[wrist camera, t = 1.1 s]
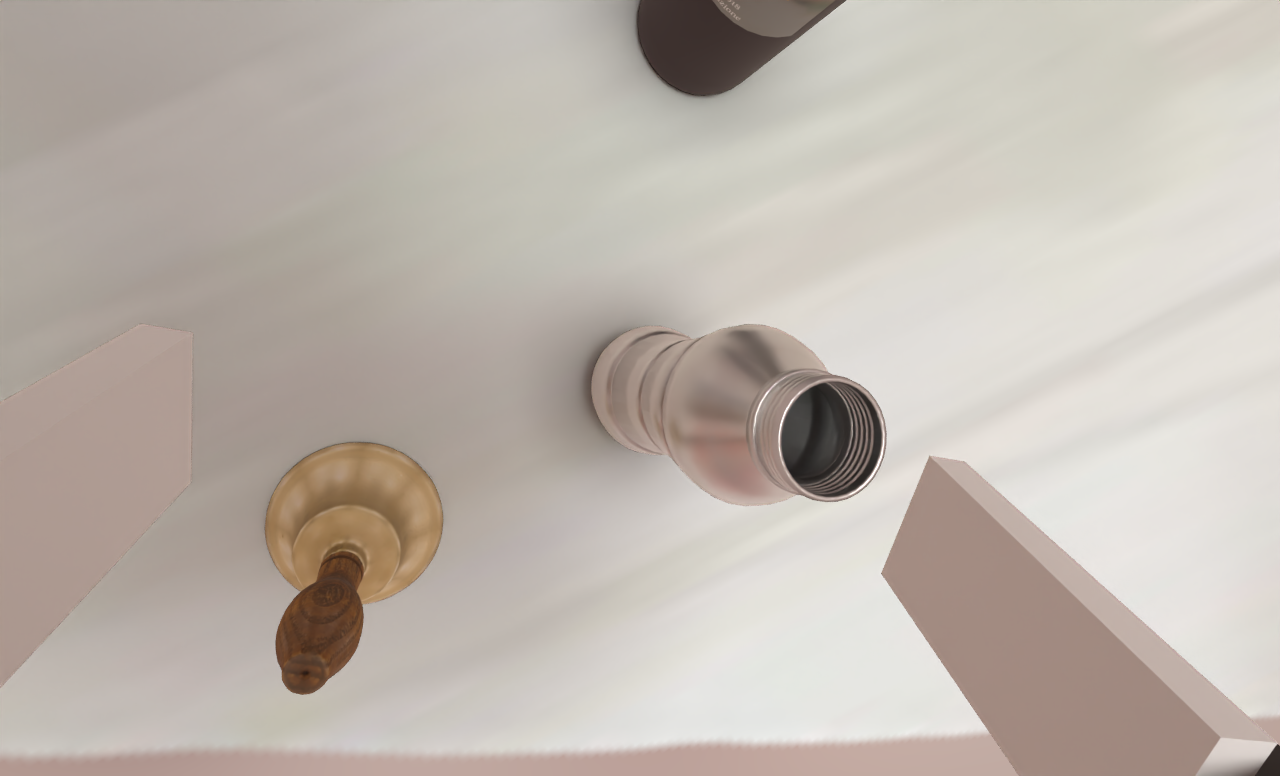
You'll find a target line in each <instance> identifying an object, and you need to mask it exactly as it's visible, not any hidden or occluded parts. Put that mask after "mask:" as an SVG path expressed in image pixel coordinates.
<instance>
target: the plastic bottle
mask: <svg viewBox="0 0 1280 776" xmlns="http://www.w3.org/2000/svg"><path fill="white" fill-rule="evenodd" d="M591 395H592V400H593V405H594V407H595V410H596V412H597V415H598V417H599V420H600V422H601V423H602V425H603V426H604V428H605V429H606V431H607V432H608V433H609V434H610V435H611V436H612V437H613V438H614V439H615V440H616V441H617V442H619V443H620V444H622V445H623V446H625V447H626V448H629V449H631V450H633V451H636V452H640V453H645V454H651V455H668V456H669V457H671V458H672V459H673V461H674V462H675V463H676V464H677V465H678V466H679V468H680V469H681V470H682V471H683V472H684V473H685V474H686V475H687V477H688V478H689V479H690V480H691V481H692V482H694V483H695V484H696V485H697V486H698V487H700V488H701V489H702V490H704V491H705V492H707V493H708V494H710V495H711V496H713V497H715V498H717V499H719V500H722V501H724V502H727V503H730V504H735V505H741V506H759V505H768V504H773V503H777V502H781V501H785V500H787V499H789V498H791V497H793V496H795V495H803V496H805V497H807V498H810V499H812V500H817V501H824V502H837V501H841V500H845V499H848V498H850V497H852V496H854V495H856V494H858V493H859V492H860V491H862V490H863V489H864V488H865V487H867V485H868V484H869V483H870V482H871V481H872V480H873V478H874V477H875V475H876V473H877V472H878V470H879V468H880V466H881V463H882V461H883V458H884V454H885V449H886V434H887V433H886V426H885V420H884V417H883V414H882V411H881V409H880V407H879V405H878V404H877V402H876V400H875V399H874V398H873V396H872V395H871V394H870V393H869V391H867V390H866V389H865V388H864V387H862V386H861V385H860V384H858V383H856V382H854V381H852V380H850V379H848V378H845V377H841V376H837V375H832V374H830V373H828V371H827V369H826V367H825V365H824V364H823V363H822V362H821V360H820V359H819V358H818V357H817V356H816V354H815V353H814V352H813V351H811V350H810V349H809V348H808V347H806V346H805V345H804V344H803V343H801V342H800V341H799V340H797V339H796V338H794V337H793V336H791V335H789V334H787V333H785V332H783V331H781V330H779V329H777V328H773V327H769V326H765V325H754V324H744V325H739V326H733V327H728V328H723V329H720V330H717V331H715V332H713V333H710V334H708V335H705V336H703V337H701V338H695V339H691V338H690V337H688V336H686V335H684V334H682V333H680V332H678V331H675V330H673V329H670V328H666V327H662V326H644V327H638V328H635V329H632V330H630V331H627V332H625V333H624V334H622V335H621V336H619V337H618V338H616V339H615V340H614V341H613V342H611V343H610V344H609V346H608V347H607V348H606V349H605V350H604V351H603V352H602V354H601V355H600V357H599V359H598V360H597V363H596V365H595V368H594V371H593V376H592V381H591Z"/></svg>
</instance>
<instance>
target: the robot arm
mask: <svg viewBox="0 0 1280 776" xmlns="http://www.w3.org/2000/svg"><path fill="white" fill-rule="evenodd" d="M192 372H193V332H188V331H182V330H176V329H170V328H164V327H158V326H152V325H146V324H139V325H137V326H135V327H133V328H132V329H130V330H128V331H126V332H124V333H123V334H121V335H119V336H117V337H116V338H114V339H112V340H110V341H108V342H107V343H105V344H103V345H101V346H100V347H98V348H96V349H94V350H92V351H91V352H89V353H87V354H85V355H83V356H82V357H80V358H78V359H76V360H75V361H73V362H71V363H69V364H67V365H66V366H64V367H62V368H60V369H59V370H57V371H55V372H53V373H51V374H50V375H48V376H46V377H44V378H42V379H41V380H39V381H37V382H35V383H34V384H32V385H30V386H28V387H26V388H25V389H23V390H21V391H19V392H18V393H16V394H14V395H12V396H10V397H9V398H7V399H5V400H3V401H1V402H0V688H1V687H2V686H3V685H4V684H5V682H6V681H7V680H8V679H9V678H10V677H11V676H12V675H13V674H14V673H15V672H16V671H17V670H18V668H19V667H20V666H21V665H22V664H23V663H24V662H25V661H26V660H27V659H28V658H29V657H30V656H31V654H32V653H33V652H34V651H35V650H36V649H37V648H38V647H39V646H40V645H41V644H42V643H43V642H44V640H45V639H46V638H47V637H48V636H49V635H50V634H51V633H52V632H53V631H54V630H55V629H56V628H57V626H58V625H59V624H60V623H61V622H62V621H63V620H64V619H65V618H66V617H67V616H68V615H69V614H70V612H71V611H72V610H73V609H74V608H75V607H76V606H77V605H78V604H79V603H80V602H81V601H82V599H83V598H84V597H85V596H86V595H87V594H88V593H89V592H90V591H91V590H92V589H93V588H94V587H95V585H96V584H97V583H98V582H99V581H100V580H101V579H102V578H103V577H104V576H105V575H106V574H107V573H108V571H109V570H110V569H111V568H112V567H113V566H114V565H115V564H116V563H117V562H118V561H119V560H120V559H121V557H122V556H123V555H124V554H125V553H126V552H127V551H128V550H129V549H130V548H131V547H132V546H133V545H134V543H135V542H136V541H137V540H138V539H139V538H140V537H141V536H142V535H143V534H144V533H145V532H146V530H147V529H148V528H149V527H150V526H151V525H152V524H153V523H154V522H155V521H156V520H157V519H158V518H159V516H160V515H161V514H162V513H163V512H164V511H165V510H166V509H167V508H168V507H169V506H170V505H171V504H172V502H173V501H174V500H175V499H176V498H177V497H178V496H179V495H180V494H181V493H182V492H183V491H184V490H185V488H186V487H187V486H188V485H189V484H190V483H191V463H192ZM881 574H882V575H883V577H884V578H885V580H886V581H887V583H888V584H889V586H890V587H891V589H892V590H893V592H894V593H895V594H896V596H897V597H898V599H899V600H900V602H901V603H902V605H903V606H904V608H905V609H906V611H907V612H908V614H909V615H910V616H911V618H912V619H913V621H914V622H915V624H916V625H917V627H918V628H919V630H920V631H921V633H922V634H923V636H924V637H925V639H926V640H927V641H928V643H929V644H930V646H931V647H932V649H933V650H934V652H935V653H936V655H937V656H938V658H939V659H940V661H941V662H942V663H943V665H944V666H945V668H946V669H947V671H948V672H949V674H950V675H951V677H952V678H953V680H954V681H955V683H956V684H957V686H958V687H959V688H960V690H961V691H962V693H963V694H964V696H965V697H966V699H967V700H968V702H969V703H970V705H971V706H972V708H973V709H974V710H975V712H976V713H977V715H978V716H979V718H980V719H981V721H982V722H983V724H984V725H985V727H986V728H987V730H988V731H989V733H990V734H991V735H992V737H993V738H994V740H995V741H996V743H997V744H998V746H999V747H1000V749H1001V750H1002V752H1003V753H1004V754H1005V756H1006V757H1007V759H1008V760H1009V762H1010V763H1011V765H1012V766H1013V768H1014V769H1015V771H1016V772H1017V774H1018V775H1019V776H1280V746H1279V745H1278V744H1277V742H1276V741H1275V740H1274V739H1273V738H1272V737H1271V736H1269V735H1268V734H1267V733H1266V732H1265V731H1264V730H1263V729H1262V728H1260V727H1259V726H1258V725H1257V724H1256V723H1255V722H1254V721H1253V720H1252V719H1251V718H1249V717H1248V716H1247V715H1246V714H1245V713H1244V712H1243V711H1242V710H1241V709H1239V708H1238V707H1237V706H1236V705H1235V704H1234V703H1233V702H1232V701H1231V700H1229V699H1228V698H1227V697H1226V696H1225V695H1224V694H1223V693H1222V692H1221V691H1219V690H1218V689H1217V688H1216V687H1215V686H1214V685H1213V684H1212V683H1210V682H1209V681H1208V680H1207V679H1206V678H1205V677H1204V676H1203V675H1202V674H1200V673H1199V672H1198V671H1197V670H1196V669H1195V668H1194V667H1193V666H1192V665H1190V664H1189V663H1188V662H1187V661H1186V660H1185V659H1184V658H1183V657H1182V656H1180V655H1179V654H1178V653H1177V652H1176V651H1175V650H1174V649H1173V648H1172V647H1170V646H1169V645H1168V644H1167V643H1166V642H1165V641H1164V640H1163V639H1162V638H1160V637H1159V636H1158V635H1157V634H1156V633H1155V632H1154V631H1153V630H1152V629H1150V628H1149V627H1148V626H1147V625H1146V624H1145V623H1144V622H1143V621H1142V620H1140V619H1139V618H1138V617H1137V616H1136V615H1135V614H1134V613H1133V612H1131V611H1130V610H1129V609H1128V608H1127V607H1126V606H1125V605H1124V604H1123V603H1121V602H1120V601H1119V600H1118V599H1117V598H1116V597H1115V596H1114V595H1113V594H1111V593H1110V592H1109V591H1108V590H1107V589H1106V588H1105V587H1104V586H1103V585H1101V584H1100V583H1099V582H1098V581H1097V580H1096V579H1095V578H1094V577H1093V576H1091V575H1090V574H1089V573H1088V572H1087V571H1086V570H1085V569H1084V568H1083V567H1081V566H1080V565H1079V564H1078V563H1077V562H1076V561H1075V560H1074V559H1073V558H1071V557H1070V556H1069V555H1068V554H1067V553H1066V552H1065V551H1064V550H1063V549H1061V548H1060V547H1059V546H1058V545H1057V544H1056V543H1055V542H1054V541H1052V540H1051V539H1050V538H1049V537H1048V536H1047V535H1046V534H1045V533H1044V532H1042V531H1041V530H1040V529H1039V528H1038V527H1037V526H1036V525H1035V524H1034V523H1032V522H1031V521H1030V520H1029V519H1028V518H1027V517H1026V516H1025V515H1024V514H1022V513H1021V512H1020V511H1019V510H1018V509H1017V508H1016V507H1015V506H1014V505H1012V504H1011V503H1010V502H1009V501H1008V500H1007V499H1006V498H1005V497H1004V496H1002V495H1001V494H1000V493H999V492H998V491H997V490H996V489H995V488H994V487H992V486H991V485H990V484H989V483H988V482H987V481H986V480H985V479H983V478H982V477H981V476H980V475H979V474H978V473H977V472H976V471H975V470H973V469H972V468H971V467H970V466H969V465H968V464H967V463H966V462H964V461H958V460H952V459H946V458H940V457H934V456H929V458H928V461H927V463H926V466H925V468H924V471H923V473H922V475H921V478H920V480H919V483H918V485H917V488H916V490H915V492H914V495H913V497H912V500H911V502H910V505H909V507H908V510H907V512H906V514H905V517H904V519H903V522H902V524H901V527H900V529H899V532H898V534H897V536H896V539H895V541H894V544H893V546H892V549H891V551H890V553H889V556H888V558H887V561H886V563H885V566H884V568H883V571H882V573H881Z"/></svg>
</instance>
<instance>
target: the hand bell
mask: <svg viewBox="0 0 1280 776" xmlns="http://www.w3.org/2000/svg"><path fill="white" fill-rule="evenodd" d="M442 527H443V512H442V506H441V501H440V498H439V495H438V492H437V489H436V487H435V486H434V484H433V482H432V480H431V479H430V477H429V476H428V475H427V474H426V472H425V471H424V470H423V469H422V468H421V467H420V466H419V465H418V464H417V463H416V462H414V461H413V460H412V459H411V458H409V457H408V456H406V455H404V454H403V453H401V452H399V451H397V450H395V449H392V448H389V447H387V446H383V445H379V444H373V443H344V444H338V445H333V446H331V447H328V448H324V449H322V450H319V451H317V452H315V453H313V454H311V455H309V456H308V457H306V458H305V459H303V460H302V461H300V462H299V463H298V464H297V465H295V466H294V467H293V468H292V469H291V470H290V471H289V472H288V473H287V474H286V475H285V476H284V477H283V479H282V480H281V481H280V483H279V485H278V486H277V488H276V489H275V491H274V493H273V495H272V497H271V500H270V503H269V506H268V509H267V514H266V522H265V535H266V542H267V547H268V550H269V553H270V555H271V557H272V560H273V562H274V564H275V565H276V567H277V569H278V570H279V571H280V573H281V574H282V575H283V577H284V578H285V579H286V580H287V581H288V582H289V583H290V584H291V585H292V586H294V587H295V588H296V589H298V590H299V591H301V592H300V593H299V594H298V595H297V596H296V597H295V598H294V599H293V601H292V602H291V603H290V605H289V606H288V608H287V609H286V611H285V613H284V615H283V617H282V619H281V621H280V624H279V626H278V630H277V634H276V655H277V660H278V663H279V665H280V667H281V670H282V681H283V683H284V684H285V686H286V687H287V689H288V690H290V691H291V692H293V693H297V694H302V695H303V694H310V693H313V692H315V691H317V690H318V689H320V688H321V687H322V686H323V685H324V684H325V683H326V681H327V680H328V679H329V678H331V677H332V676H333V675H335V674H336V673H337V672H339V671H340V670H341V669H342V668H343V667H344V666H345V665H346V664H347V662H348V661H349V660H350V659H351V657H352V656H353V654H354V653H355V651H356V649H357V646H358V644H359V640H360V637H361V633H362V627H363V618H364V616H363V607H362V604H369V603H373V602H377V601H380V600H383V599H386V598H388V597H390V596H392V595H394V594H396V593H398V592H400V591H402V590H403V589H405V588H406V587H407V586H409V585H410V584H411V583H412V582H414V581H415V580H416V579H417V578H418V577H419V576H420V575H421V574H422V573H423V572H424V570H425V569H426V568H427V566H428V565H429V564H430V562H431V560H432V559H433V557H434V555H435V553H436V550H437V548H438V545H439V542H440V539H441V534H442Z"/></svg>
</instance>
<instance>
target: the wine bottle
mask: <svg viewBox="0 0 1280 776" xmlns="http://www.w3.org/2000/svg"><path fill="white" fill-rule="evenodd" d="M845 1H846V0H641V3H640V8H639V15H638V30H639V36H640V41H641V45H642V47H643V50H644V53H645V55H646V57H647V59H648V60H649V62H650V64H651V66H652V67H653V68H654V69H655V71H656V72H657V73H658V74H659V75H660V77H662V78H663V79H664V80H665V81H666V82H668V83H669V84H670V85H672V86H674V87H675V88H677V89H679V90H681V91H684V92H687V93H690V94H695V95H711V94H718V93H722V92H725V91H727V90H730V89H732V88H734V87H735V86H737V85H738V84H740V83H741V82H743V81H744V80H745V79H747V78H748V77H749V76H750V75H752V74H753V73H754V72H755V71H757V70H758V69H759V68H761V67H762V66H763V65H764V64H766V63H767V62H768V61H770V60H771V59H772V58H773V57H775V56H776V55H777V54H778V53H780V52H781V51H782V50H784V49H785V48H786V47H787V46H789V45H790V44H791V43H792V42H794V41H795V40H796V39H798V38H799V37H800V36H801V35H803V34H804V33H805V32H806V31H808V30H809V29H810V28H812V27H813V26H814V25H815V24H817V23H818V22H819V21H820V20H822V19H823V18H824V17H826V16H827V15H828V14H829V13H831V12H832V11H833V10H835V9H836V8H837V7H838V6H840V5H841V4H842V3H843V2H845Z"/></svg>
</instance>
